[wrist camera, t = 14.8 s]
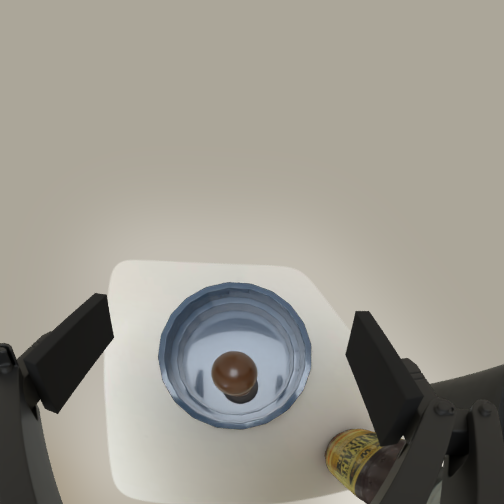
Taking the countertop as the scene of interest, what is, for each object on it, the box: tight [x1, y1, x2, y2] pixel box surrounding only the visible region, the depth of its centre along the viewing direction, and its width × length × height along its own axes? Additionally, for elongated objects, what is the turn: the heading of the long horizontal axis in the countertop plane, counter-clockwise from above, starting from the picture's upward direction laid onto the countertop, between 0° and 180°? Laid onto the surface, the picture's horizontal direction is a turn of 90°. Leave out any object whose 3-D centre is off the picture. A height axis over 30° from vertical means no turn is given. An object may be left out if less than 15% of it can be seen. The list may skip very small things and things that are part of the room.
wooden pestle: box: [211, 351, 258, 404], centre depth 20 cm, size 4×4×19 cm
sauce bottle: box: [325, 429, 443, 504], centre depth 17 cm, size 6×6×20 cm
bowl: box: [158, 282, 311, 429], centre depth 28 cm, size 14×14×6 cm
